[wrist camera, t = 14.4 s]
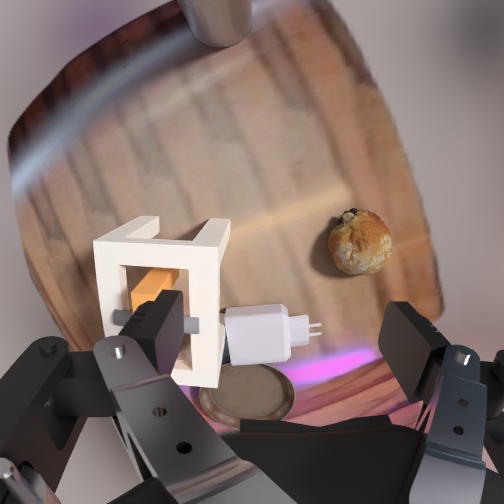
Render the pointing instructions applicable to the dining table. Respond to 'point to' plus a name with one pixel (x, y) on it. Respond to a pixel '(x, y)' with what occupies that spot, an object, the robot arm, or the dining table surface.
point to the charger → (264, 333)
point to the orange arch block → (153, 285)
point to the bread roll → (360, 243)
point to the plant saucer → (248, 394)
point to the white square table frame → (169, 256)
